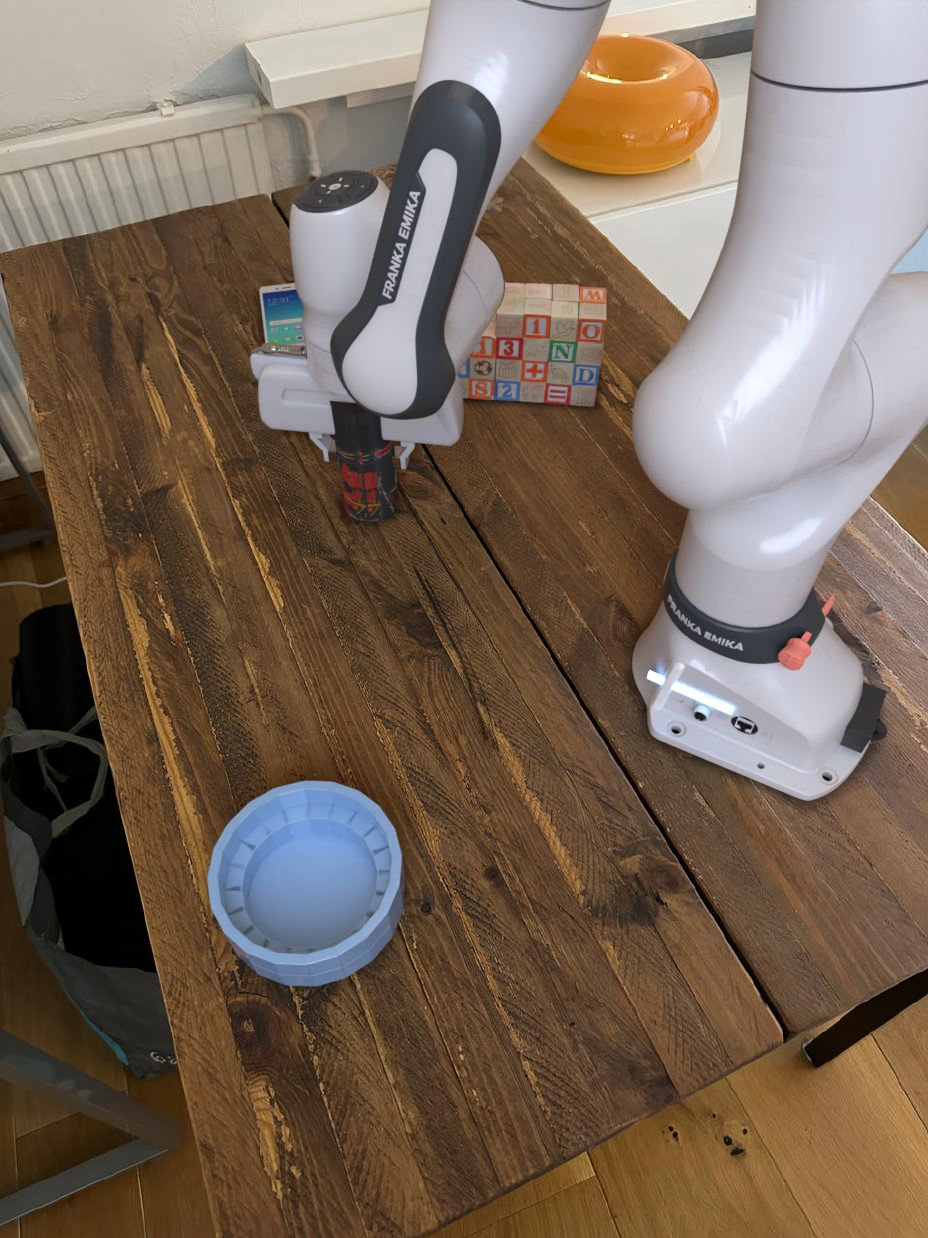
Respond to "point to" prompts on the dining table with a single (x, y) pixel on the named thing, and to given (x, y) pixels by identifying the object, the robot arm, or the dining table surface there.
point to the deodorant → (364, 463)
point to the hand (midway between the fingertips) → (367, 461)
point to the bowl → (308, 882)
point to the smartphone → (282, 314)
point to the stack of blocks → (540, 346)
